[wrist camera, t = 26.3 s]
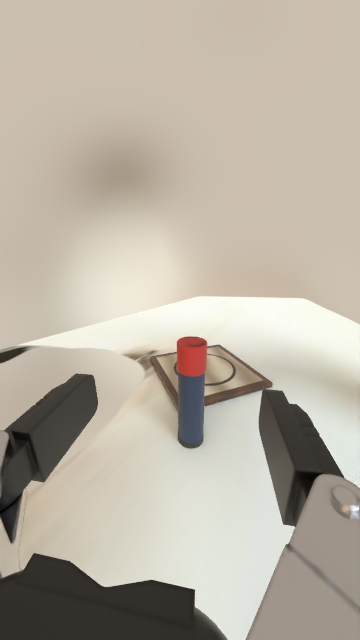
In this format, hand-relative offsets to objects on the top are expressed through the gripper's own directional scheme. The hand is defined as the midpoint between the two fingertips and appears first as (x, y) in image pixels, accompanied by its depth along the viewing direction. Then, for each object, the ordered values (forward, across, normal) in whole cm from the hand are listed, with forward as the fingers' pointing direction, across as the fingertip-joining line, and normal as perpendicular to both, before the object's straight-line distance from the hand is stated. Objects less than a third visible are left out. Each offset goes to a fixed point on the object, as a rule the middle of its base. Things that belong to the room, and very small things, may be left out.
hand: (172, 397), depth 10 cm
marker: (+11, 0, +14) cm, 18 cm away
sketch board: (+25, -1, +14) cm, 29 cm away
